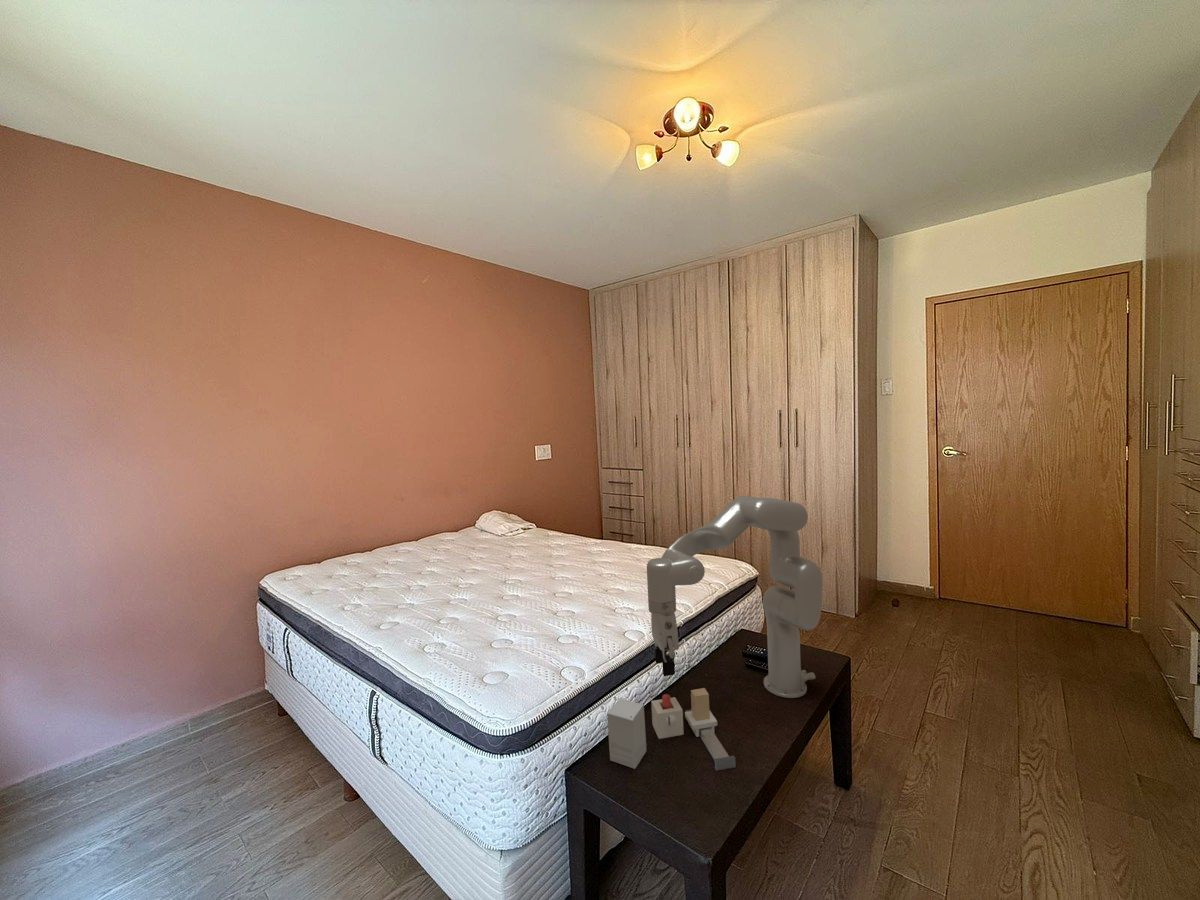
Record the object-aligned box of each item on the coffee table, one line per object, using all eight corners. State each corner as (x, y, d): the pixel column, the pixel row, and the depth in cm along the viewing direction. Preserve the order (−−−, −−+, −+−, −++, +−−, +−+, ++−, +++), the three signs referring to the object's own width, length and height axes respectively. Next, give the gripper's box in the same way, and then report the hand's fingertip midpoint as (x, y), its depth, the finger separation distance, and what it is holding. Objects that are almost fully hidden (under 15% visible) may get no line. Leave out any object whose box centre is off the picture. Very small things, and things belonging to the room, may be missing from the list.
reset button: (669, 710, 128) (668, 693, 128) (672, 715, 126) (671, 698, 126) (662, 712, 128) (661, 694, 127) (664, 717, 125) (663, 699, 125)
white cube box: (676, 720, 131) (675, 697, 130) (684, 736, 124) (683, 711, 124) (652, 724, 129) (651, 700, 129) (659, 740, 123) (658, 715, 122)
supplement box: (647, 751, 119) (645, 704, 118) (634, 770, 113) (632, 720, 112) (622, 742, 123) (619, 696, 122) (608, 760, 116) (606, 712, 116)
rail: (702, 715, 132) (701, 707, 132) (735, 767, 112) (735, 757, 112) (685, 718, 131) (685, 710, 131) (716, 770, 111) (716, 761, 111)
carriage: (708, 719, 130) (707, 684, 130) (717, 733, 124) (716, 696, 124) (685, 723, 129) (683, 688, 128) (693, 737, 123) (691, 700, 122)
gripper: (686, 615, 117) (689, 683, 118) (665, 592, 134) (667, 651, 135) (658, 618, 116) (661, 688, 117) (640, 594, 133) (643, 655, 134)
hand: (665, 668), depth 126 cm, fingers open, 5 cm apart
